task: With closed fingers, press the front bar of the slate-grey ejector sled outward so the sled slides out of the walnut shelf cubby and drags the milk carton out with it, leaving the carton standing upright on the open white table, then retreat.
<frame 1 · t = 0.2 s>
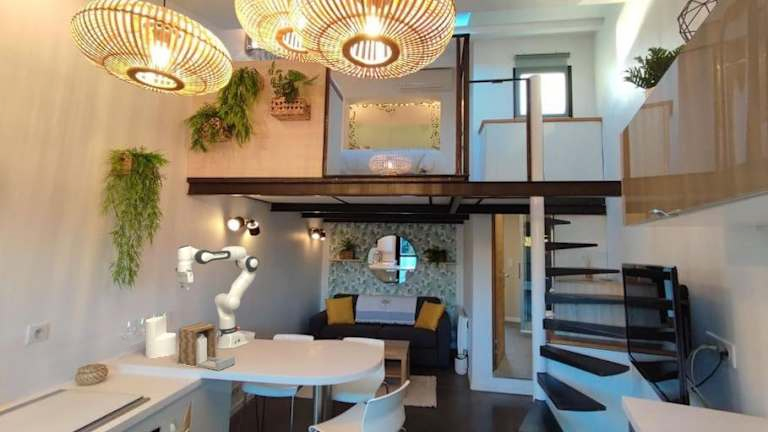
hand: (184, 288, 260), 48 cm above the worktop, fingers open, 8 cm apart
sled: (209, 359, 246), point 3 cm above the worktop, slide at 0.0 cm
white stepped block: (161, 354, 268), on the worktop
shelf cubby: (198, 362, 250), on the worktop
milk carton: (198, 362, 250), resting in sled
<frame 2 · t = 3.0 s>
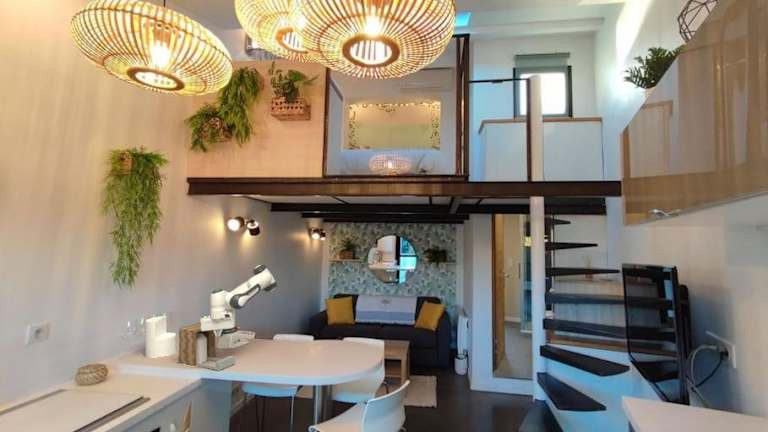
hand: (218, 336, 243), 19 cm above the worktop, fingers closed
nothing on the worktop moved.
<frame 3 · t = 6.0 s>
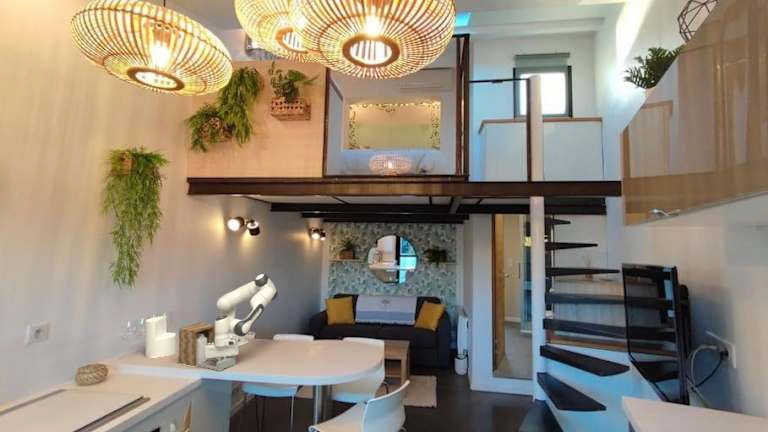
hand: (222, 363, 241), 2 cm above the worktop, fingers closed
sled: (210, 360, 245), point 3 cm above the worktop, slide at 0.8 cm, touching gripper, milk carton
milk carton: (198, 362, 250), resting in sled
everything else where it was.
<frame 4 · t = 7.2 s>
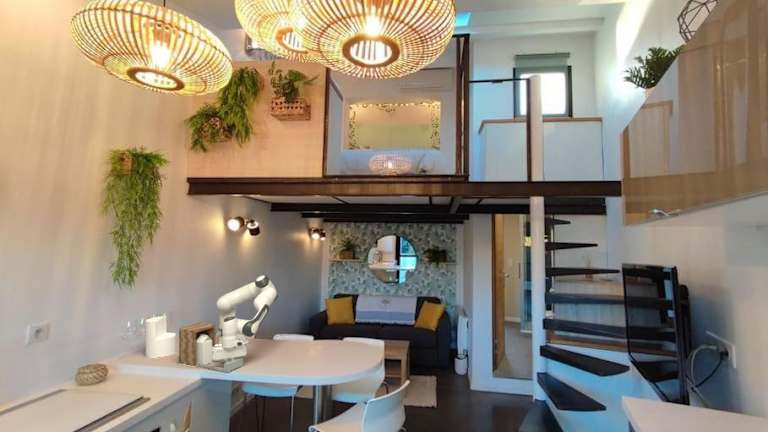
hand: (229, 364, 238), 2 cm above the worktop, fingers closed
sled: (217, 361, 242), point 3 cm above the worktop, slide at 7.4 cm, touching gripper, milk carton
milk carton: (204, 364, 246), resting in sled
everything else where it was.
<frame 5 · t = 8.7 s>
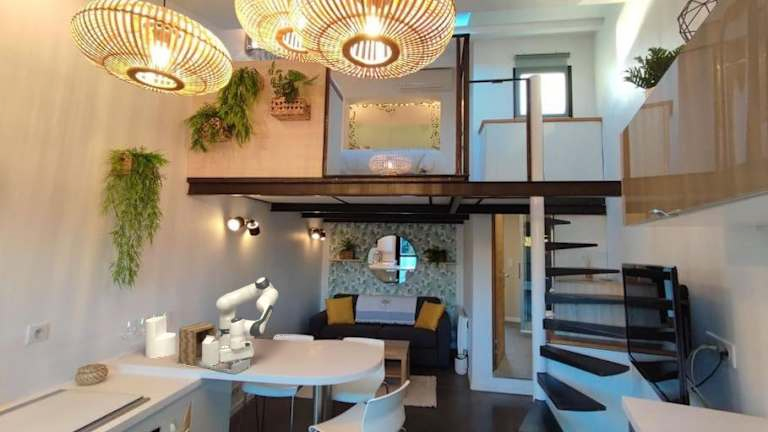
hand: (236, 366, 235), 2 cm above the worktop, fingers closed
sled: (224, 362, 240), point 3 cm above the worktop, slide at 13.6 cm, touching gripper, milk carton
milk carton: (210, 365, 244), resting in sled
everything else where it was.
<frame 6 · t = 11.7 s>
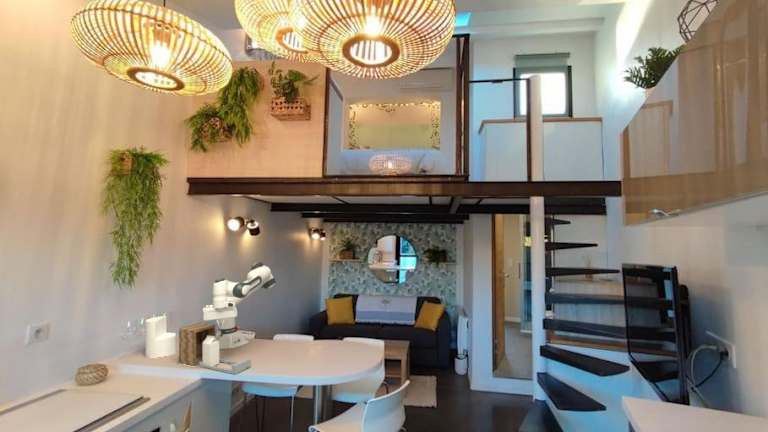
hand: (220, 325, 241), 26 cm above the worktop, fingers closed
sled: (224, 362, 240), point 3 cm above the worktop, slide at 13.9 cm
milk carton: (211, 365, 244), resting in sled
everything else where it was.
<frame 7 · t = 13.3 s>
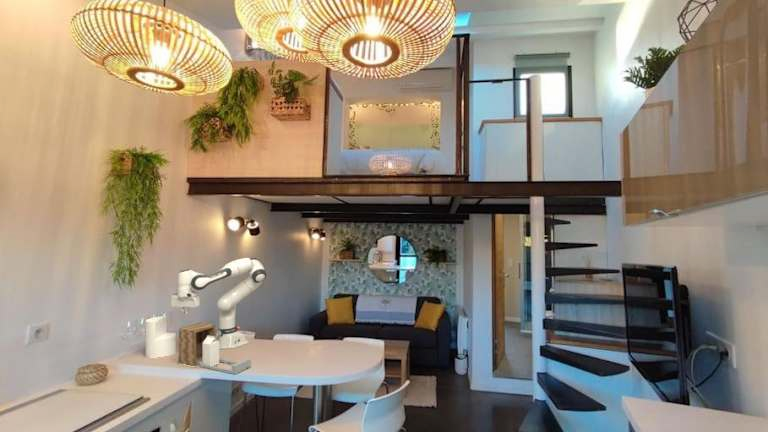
hand: (185, 313, 256), 31 cm above the worktop, fingers closed
nothing on the worktop moved.
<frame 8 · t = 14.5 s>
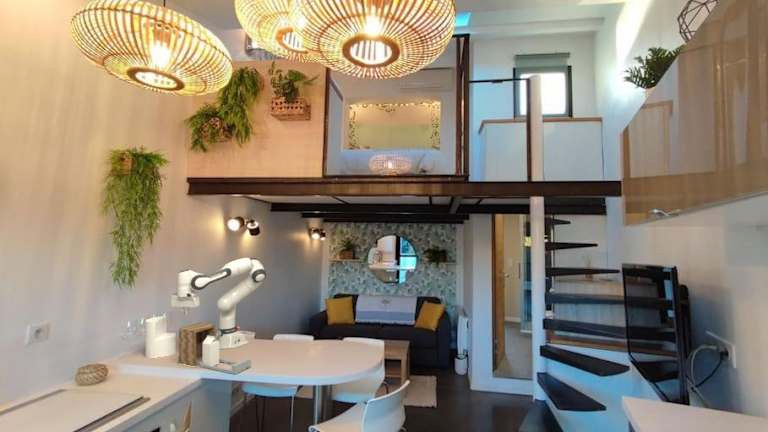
hand: (185, 313, 256), 31 cm above the worktop, fingers closed
nothing on the worktop moved.
at the end: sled slide at 13.9 cm; milk carton inside the target area (1.4 cm from its centre), resting in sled; milk carton tilted 0° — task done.
